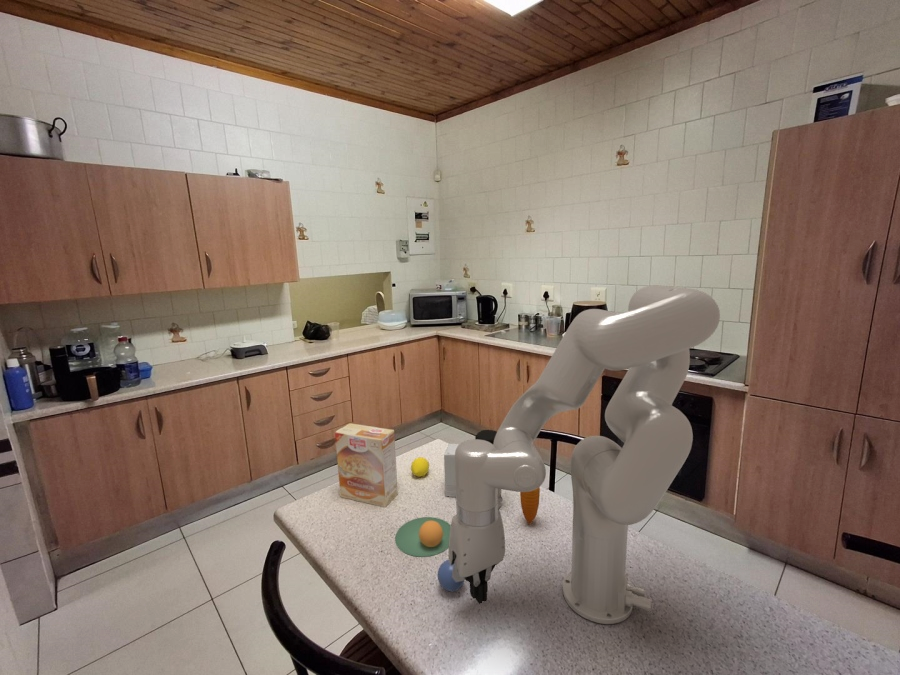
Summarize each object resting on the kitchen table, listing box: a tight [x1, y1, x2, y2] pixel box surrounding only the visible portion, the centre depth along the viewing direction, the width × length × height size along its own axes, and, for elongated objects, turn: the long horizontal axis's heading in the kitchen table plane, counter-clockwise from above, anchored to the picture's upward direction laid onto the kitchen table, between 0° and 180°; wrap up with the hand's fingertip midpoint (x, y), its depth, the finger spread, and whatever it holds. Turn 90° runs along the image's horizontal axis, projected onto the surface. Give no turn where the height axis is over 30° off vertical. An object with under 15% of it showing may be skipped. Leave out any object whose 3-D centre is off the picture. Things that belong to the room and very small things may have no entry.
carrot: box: [519, 486, 541, 525], centre depth 99 cm, size 5×5×15 cm
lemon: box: [410, 456, 430, 478], centre depth 125 cm, size 7×5×5 cm
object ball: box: [419, 521, 443, 547], centre depth 93 cm, size 6×6×6 cm
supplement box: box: [443, 443, 460, 498], centre depth 114 cm, size 7×7×13 cm
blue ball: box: [437, 559, 466, 592], centre depth 81 cm, size 6×6×6 cm
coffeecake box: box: [334, 422, 399, 508], centre depth 113 cm, size 15×7×20 cm, turn 67°
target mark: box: [394, 516, 451, 558], centre depth 97 cm, size 14×14×1 cm
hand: (478, 597), depth 77 cm, fingers closed
